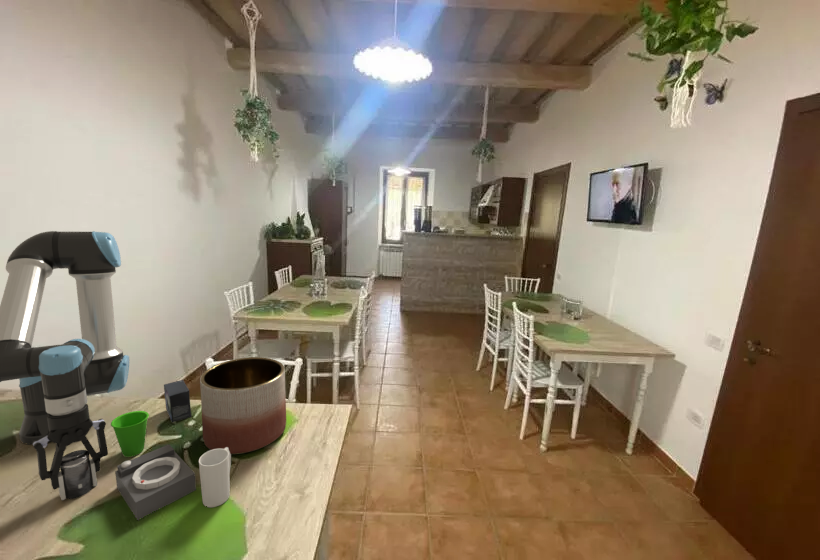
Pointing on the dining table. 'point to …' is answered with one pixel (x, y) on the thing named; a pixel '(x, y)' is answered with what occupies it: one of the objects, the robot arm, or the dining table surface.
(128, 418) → the cup
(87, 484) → the lens
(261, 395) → the planter
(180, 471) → the camera body
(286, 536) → the dining table surface
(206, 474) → the mug
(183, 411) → the small box
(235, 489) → the dining table surface
